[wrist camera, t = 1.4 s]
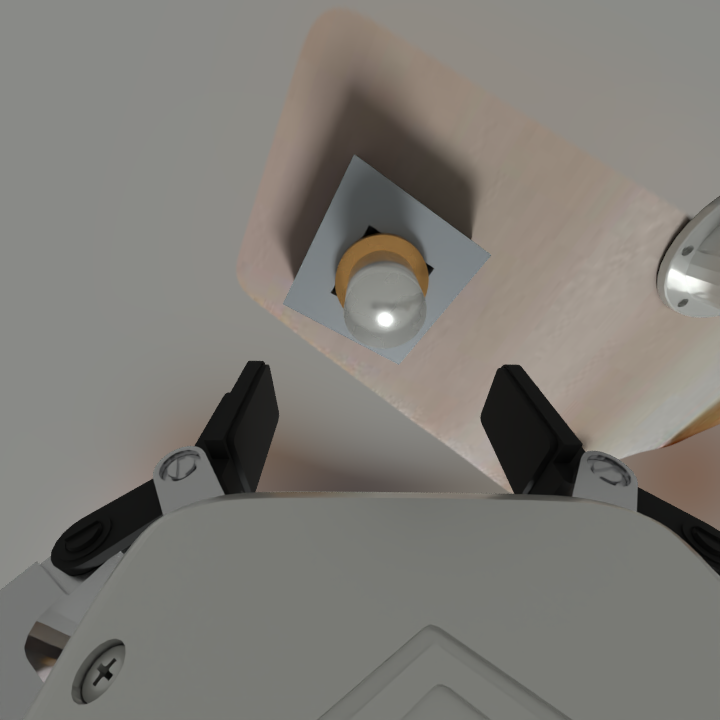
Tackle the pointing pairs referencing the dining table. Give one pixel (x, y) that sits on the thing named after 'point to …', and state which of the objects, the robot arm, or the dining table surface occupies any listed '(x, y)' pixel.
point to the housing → (381, 215)
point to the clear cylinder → (382, 290)
